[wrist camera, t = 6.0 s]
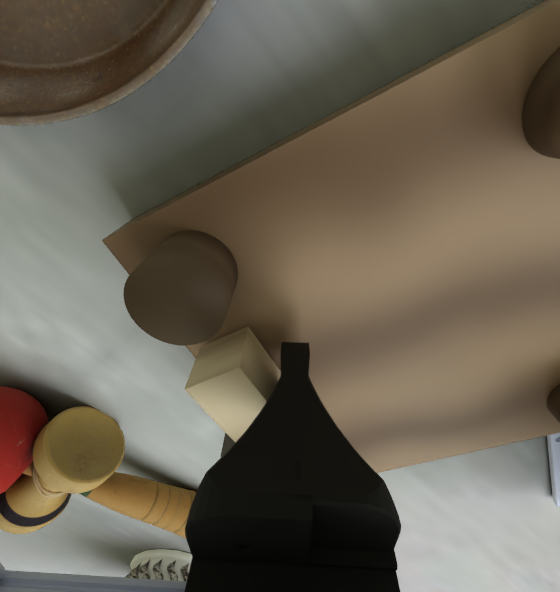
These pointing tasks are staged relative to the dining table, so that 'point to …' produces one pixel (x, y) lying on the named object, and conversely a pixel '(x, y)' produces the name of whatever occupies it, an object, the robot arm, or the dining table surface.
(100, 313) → the dining table surface
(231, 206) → the stool seat
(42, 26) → the plant saucer
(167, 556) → the decorative candle
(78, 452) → the kendama
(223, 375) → the hinged leg
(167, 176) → the dining table surface
